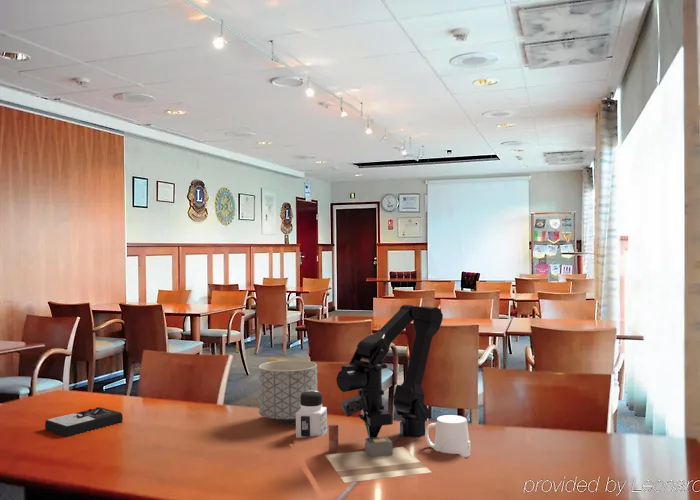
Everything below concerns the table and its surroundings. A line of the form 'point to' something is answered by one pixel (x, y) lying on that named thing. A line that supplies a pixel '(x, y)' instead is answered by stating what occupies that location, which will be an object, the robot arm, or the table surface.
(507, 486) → the table surface
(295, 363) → the planter
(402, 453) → the board
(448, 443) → the mug
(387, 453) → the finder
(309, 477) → the table surface
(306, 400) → the container
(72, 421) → the multimeter
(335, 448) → the brown cylinder
